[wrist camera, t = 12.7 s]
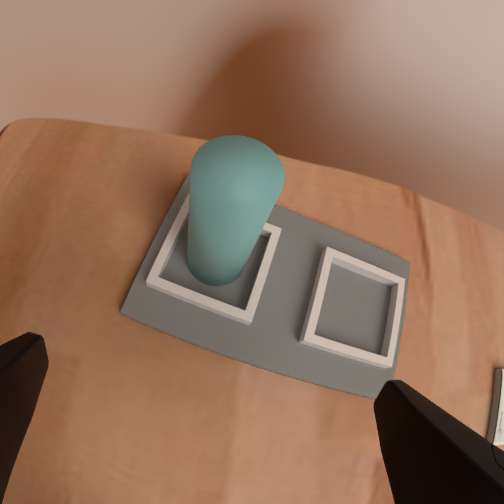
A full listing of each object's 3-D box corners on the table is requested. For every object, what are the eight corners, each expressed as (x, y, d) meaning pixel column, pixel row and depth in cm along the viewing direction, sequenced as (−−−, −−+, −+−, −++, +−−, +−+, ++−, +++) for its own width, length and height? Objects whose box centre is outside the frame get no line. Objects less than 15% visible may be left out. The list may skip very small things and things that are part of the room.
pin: (206, 296, 21) (222, 226, 12) (176, 248, 22) (174, 153, 13) (255, 268, 23) (302, 187, 14) (225, 223, 24) (251, 125, 15)
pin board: (405, 264, 26) (416, 257, 25) (383, 401, 21) (395, 401, 20) (188, 177, 25) (189, 165, 24) (121, 314, 20) (116, 309, 19)
